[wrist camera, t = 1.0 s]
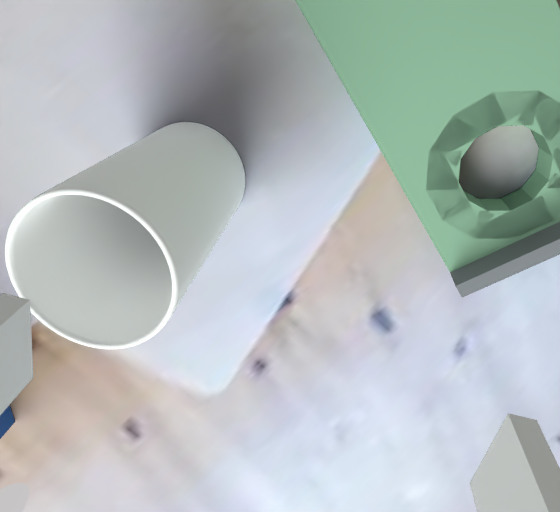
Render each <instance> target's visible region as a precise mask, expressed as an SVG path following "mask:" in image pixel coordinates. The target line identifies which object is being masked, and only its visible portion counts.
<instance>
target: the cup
mask: <svg viewBox="0 0 560 512" xmlns="http://www.w3.org/2000/svg"><path fill="white" fill-rule="evenodd" d="M244 191H245V172H244V168H243V164H242V161H241V159H240V157H239V155H238V153H237V151H236V150H235V148H234V147H233V146H232V144H231V143H230V142H229V141H228V140H227V139H226V138H225V137H224V136H223V135H221V134H220V133H219V132H217V131H216V130H214V129H212V128H210V127H208V126H205V125H202V124H199V123H193V122H179V123H173V124H170V125H167V126H165V127H163V128H161V129H159V130H157V131H155V132H153V133H152V134H150V135H148V136H146V137H144V138H143V139H141V140H139V141H137V142H135V143H133V144H132V145H130V146H128V147H126V148H124V149H122V150H121V151H119V152H117V153H115V154H113V155H111V156H110V157H108V158H106V159H104V160H102V161H100V162H99V163H97V164H95V165H93V166H91V167H89V168H88V169H86V170H84V171H82V172H80V173H78V174H77V175H75V176H73V177H71V178H69V179H67V180H66V181H64V182H62V183H60V184H58V185H57V186H55V187H53V188H51V189H49V190H48V191H46V192H44V193H42V194H40V195H39V196H37V197H35V198H34V199H32V200H31V201H30V202H29V203H28V204H26V205H25V206H24V207H23V208H22V209H21V210H20V211H19V212H18V213H17V215H16V216H15V218H14V219H13V221H12V223H11V225H10V227H9V230H8V232H7V237H6V242H5V260H6V266H7V270H8V274H9V277H10V279H11V282H12V284H13V286H14V288H15V290H16V292H17V294H18V296H19V297H20V298H25V299H29V300H30V311H31V313H32V314H33V315H34V316H35V317H36V318H37V319H38V320H40V321H41V322H42V323H43V324H44V325H46V326H47V327H48V328H50V329H51V330H53V331H54V332H56V333H57V334H59V335H61V336H63V337H64V338H66V339H69V340H71V341H73V342H76V343H79V344H82V345H85V346H89V347H93V348H100V349H121V348H127V347H132V346H135V345H138V344H140V343H142V342H145V341H147V340H148V339H150V338H151V337H153V336H154V335H155V334H157V333H158V332H159V331H160V330H161V329H162V328H163V326H164V325H165V324H166V323H167V322H168V320H169V319H170V317H171V316H172V314H173V313H174V311H175V309H176V308H177V306H178V305H179V303H180V301H181V300H182V298H183V296H184V295H185V293H186V292H187V290H188V288H189V287H190V285H191V283H192V282H193V280H194V279H195V277H196V275H197V274H198V272H199V270H200V269H201V267H202V266H203V264H204V262H205V261H206V259H207V257H208V256H209V254H210V253H211V251H212V249H213V248H214V246H215V244H216V243H217V241H218V240H219V238H220V236H221V235H222V233H223V231H224V230H225V228H226V226H227V225H228V223H229V222H230V220H231V218H232V217H233V215H234V213H235V212H236V210H237V209H238V207H239V205H240V203H241V201H242V198H243V195H244Z"/></svg>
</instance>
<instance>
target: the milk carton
mask: <svg viewBox="0 0 560 512" xmlns="http://www.w3.org/2000/svg"><path fill="white" fill-rule="evenodd" d="M14 422H15V420H14V417H13V414H12V410H11V407H10V405H9V406H8V407H7V408H6V409H5V411H4V412H3V413H2V414H1V415H0V439H1V438H2V436H3V435H4V434H5V433H6V432H7V430H8V429H9V428H10V427H11V426H12V425H13V423H14Z"/></svg>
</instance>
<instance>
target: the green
mask: <svg viewBox="0 0 560 512" xmlns="http://www.w3.org/2000/svg"><path fill="white" fill-rule="evenodd" d="M296 2H297V4H298V6H299V7H300V9H301V11H302V13H303V15H304V16H305V18H306V20H307V22H308V23H309V25H310V27H311V29H312V30H313V32H314V34H315V36H316V37H317V39H318V41H319V43H320V44H321V46H322V48H323V50H324V51H325V53H326V55H327V57H328V58H329V60H330V62H331V64H332V66H333V67H334V69H335V71H336V73H337V74H338V76H339V78H340V80H341V81H342V83H343V85H344V87H345V88H346V90H347V92H348V94H349V95H350V97H351V99H352V101H353V102H354V104H355V106H356V108H357V109H358V111H359V113H360V115H361V117H362V118H363V120H364V122H365V124H366V125H367V127H368V129H369V131H370V132H371V134H372V136H373V138H374V139H375V141H376V143H377V145H378V146H379V148H380V150H381V152H382V153H383V155H384V157H385V159H386V160H387V162H388V164H389V166H390V167H391V169H392V171H393V173H394V175H395V176H396V178H397V180H398V182H399V183H400V185H401V187H402V189H403V190H404V192H405V194H406V196H407V197H408V199H409V201H410V203H411V204H412V206H413V208H414V210H415V211H416V213H417V215H418V217H419V218H420V220H421V222H422V224H423V226H424V227H425V229H426V231H427V233H428V234H429V236H430V238H431V240H432V241H433V243H434V245H435V247H436V248H437V250H438V252H439V254H440V255H441V257H442V259H443V261H444V262H445V264H446V266H447V268H448V269H449V271H450V273H451V276H452V278H453V281H454V283H455V286H456V287H457V289H458V291H459V293H460V294H461V296H462V297H464V296H467V295H469V294H471V293H473V292H476V291H478V290H480V289H482V288H485V287H487V286H489V285H491V284H494V283H496V282H498V281H500V280H503V279H505V278H507V277H509V276H512V275H514V274H516V273H519V272H521V271H523V270H525V269H528V268H530V267H532V266H534V265H537V264H539V263H541V262H543V261H546V260H548V259H550V258H552V257H555V256H557V255H559V254H560V8H559V6H558V3H557V1H556V0H296ZM513 125H524V126H526V127H528V128H530V129H531V131H532V133H533V136H534V138H535V140H536V142H537V144H538V147H539V152H538V158H537V164H536V170H535V171H534V172H533V174H532V175H531V176H530V178H529V179H528V180H527V181H526V183H525V184H524V185H523V186H522V188H520V189H518V190H516V191H514V192H512V193H510V194H508V195H506V196H504V197H502V198H500V199H478V198H476V197H474V196H472V195H471V194H469V193H467V192H465V191H463V189H462V188H461V186H460V184H459V182H458V181H459V171H460V161H461V158H462V157H463V155H464V154H465V152H466V151H467V149H468V148H469V147H470V145H471V144H472V142H473V141H474V139H475V138H477V137H479V136H481V135H483V134H484V133H486V132H488V131H490V130H492V129H494V128H495V127H497V126H513Z"/></svg>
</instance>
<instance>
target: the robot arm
mask: <svg viewBox="0 0 560 512" xmlns="http://www.w3.org/2000/svg"><path fill="white" fill-rule="evenodd" d="M32 378H33V361H32V336H31V311H30V300H29V299H25V298H20V297H16V296H12V295H8V294H4V293H2V294H1V295H0V415H1V414H2V413H3V412H4V411H5V409H6V408H7V407H8V406H9V405H10V404H11V402H12V401H13V400H14V399H15V398H16V397H17V396H18V394H19V393H20V392H21V391H22V390H23V389H24V388H25V386H26V385H27V384H28V383H29V382H30V381H31V380H32ZM470 486H471V489H472V493H473V497H474V501H475V504H476V508H477V512H560V468H559V466H558V464H557V462H556V460H555V458H554V456H553V454H552V452H551V449H550V447H549V445H548V443H547V441H546V439H545V437H544V435H543V433H542V431H541V429H540V426H539V424H538V422H537V420H534V419H529V418H525V417H521V416H517V415H513V414H507V416H506V418H505V420H504V422H503V423H502V425H501V427H500V429H499V431H498V433H497V434H496V436H495V438H494V440H493V442H492V443H491V445H490V447H489V449H488V451H487V452H486V454H485V456H484V458H483V460H482V461H481V463H480V465H479V467H478V469H477V471H476V472H475V474H474V476H473V478H472V480H471V481H470Z"/></svg>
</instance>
